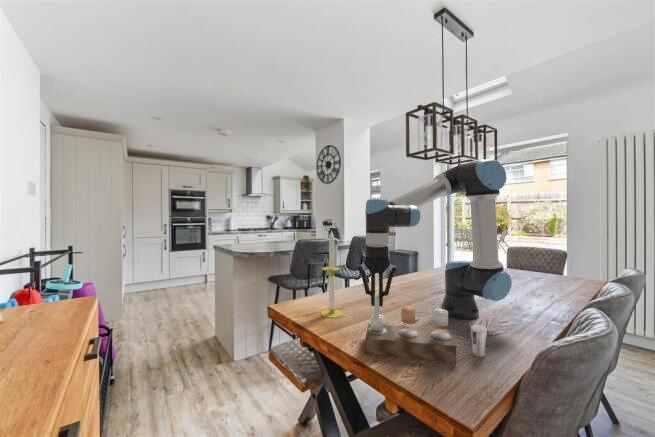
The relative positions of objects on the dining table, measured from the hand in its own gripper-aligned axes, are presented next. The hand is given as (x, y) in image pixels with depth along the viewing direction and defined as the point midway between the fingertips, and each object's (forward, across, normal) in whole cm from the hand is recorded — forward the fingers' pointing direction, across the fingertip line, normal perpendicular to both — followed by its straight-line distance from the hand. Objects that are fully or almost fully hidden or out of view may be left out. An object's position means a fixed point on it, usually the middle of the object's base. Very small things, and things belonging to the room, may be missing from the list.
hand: (377, 315), depth 96 cm
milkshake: (+11, -31, -1) cm, 33 cm away
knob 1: (+4, 0, 0) cm, 4 cm away
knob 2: (+1, -20, 0) cm, 20 cm away
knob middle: (+1, -10, 0) cm, 10 cm away
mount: (+10, -10, 0) cm, 15 cm away
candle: (+11, +21, -27) cm, 35 cm away
